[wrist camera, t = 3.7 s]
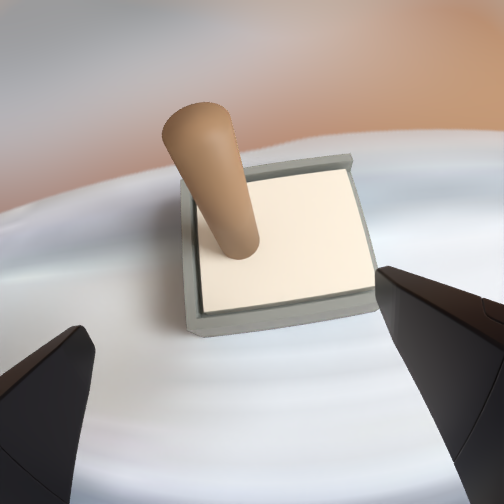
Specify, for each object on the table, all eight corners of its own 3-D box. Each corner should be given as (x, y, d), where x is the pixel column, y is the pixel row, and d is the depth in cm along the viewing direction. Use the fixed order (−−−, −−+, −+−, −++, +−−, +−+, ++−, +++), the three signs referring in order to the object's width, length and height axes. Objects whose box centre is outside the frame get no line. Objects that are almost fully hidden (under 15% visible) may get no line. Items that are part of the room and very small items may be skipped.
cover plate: (207, 315, 19) (118, 248, 9) (200, 199, 22) (139, 76, 12) (373, 289, 18) (452, 197, 8) (343, 177, 21) (368, 43, 11)
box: (204, 337, 21) (187, 330, 18) (195, 206, 25) (180, 179, 21) (375, 311, 20) (392, 298, 17) (343, 183, 24) (350, 153, 20)
